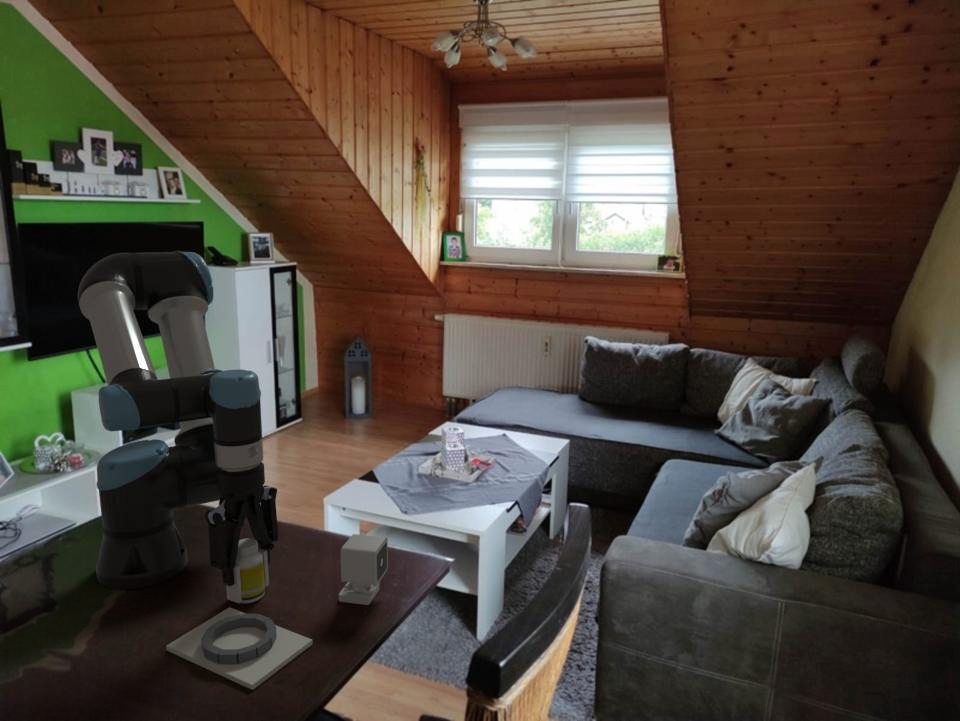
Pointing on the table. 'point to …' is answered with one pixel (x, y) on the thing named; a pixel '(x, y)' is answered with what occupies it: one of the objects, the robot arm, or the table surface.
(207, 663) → the socket board
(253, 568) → the supplement bottle
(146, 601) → the table surface
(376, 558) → the security camera
